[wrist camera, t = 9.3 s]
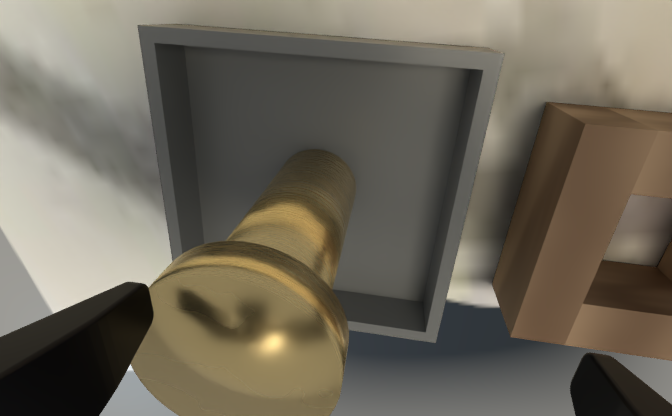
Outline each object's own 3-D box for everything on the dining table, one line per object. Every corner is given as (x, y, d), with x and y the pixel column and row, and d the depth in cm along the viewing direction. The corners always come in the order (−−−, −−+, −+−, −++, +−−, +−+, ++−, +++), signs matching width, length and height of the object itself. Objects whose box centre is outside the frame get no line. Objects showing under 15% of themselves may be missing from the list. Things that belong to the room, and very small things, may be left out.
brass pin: (378, 139, 18) (350, 296, 8) (366, 240, 21) (334, 456, 11) (262, 127, 19) (103, 259, 9) (264, 227, 21) (142, 420, 11)
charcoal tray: (487, 47, 17) (504, 53, 14) (431, 304, 23) (435, 342, 20) (176, 23, 18) (137, 25, 15) (203, 272, 24) (179, 304, 22)
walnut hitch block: (797, 124, 16) (909, 154, 13) (685, 310, 21) (745, 371, 17) (546, 101, 17) (585, 123, 14) (492, 284, 22) (510, 336, 18)
